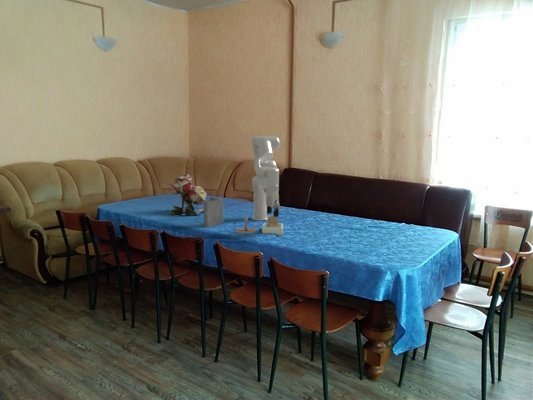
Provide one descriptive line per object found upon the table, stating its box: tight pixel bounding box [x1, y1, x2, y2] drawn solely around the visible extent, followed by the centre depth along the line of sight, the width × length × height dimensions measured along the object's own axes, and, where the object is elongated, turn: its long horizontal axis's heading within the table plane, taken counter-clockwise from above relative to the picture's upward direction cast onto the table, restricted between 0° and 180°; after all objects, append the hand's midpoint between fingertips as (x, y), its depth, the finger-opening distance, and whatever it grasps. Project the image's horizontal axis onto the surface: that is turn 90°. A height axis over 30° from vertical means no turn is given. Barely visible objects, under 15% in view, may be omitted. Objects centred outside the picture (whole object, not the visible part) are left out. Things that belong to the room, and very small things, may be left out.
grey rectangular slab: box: [203, 195, 224, 228], centre depth 296 cm, size 16×4×20 cm, turn 136°
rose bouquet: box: [168, 173, 208, 217], centre depth 337 cm, size 26×29×30 cm
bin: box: [261, 222, 284, 237], centre depth 275 cm, size 12×12×5 cm
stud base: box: [234, 216, 257, 234], centre depth 276 cm, size 12×12×10 cm
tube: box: [266, 214, 279, 228], centre depth 274 cm, size 5×5×10 cm
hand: (272, 215), depth 274 cm, fingers open, 9 cm apart
